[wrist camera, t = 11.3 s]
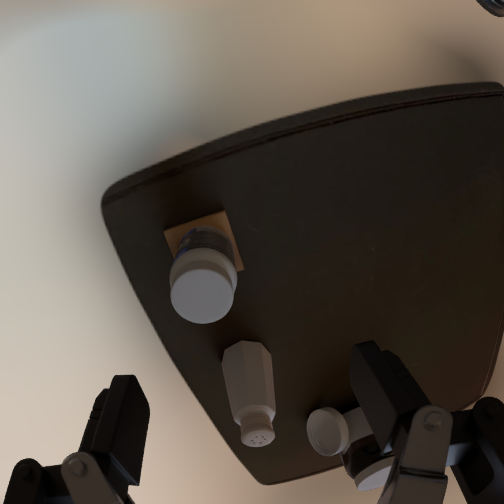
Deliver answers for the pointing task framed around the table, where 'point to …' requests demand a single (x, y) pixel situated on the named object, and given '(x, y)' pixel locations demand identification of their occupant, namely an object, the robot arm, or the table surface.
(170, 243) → the coaster
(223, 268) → the pill bottle
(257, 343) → the pepper shaker
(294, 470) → the table surface
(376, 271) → the table surface
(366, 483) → the spread jar
